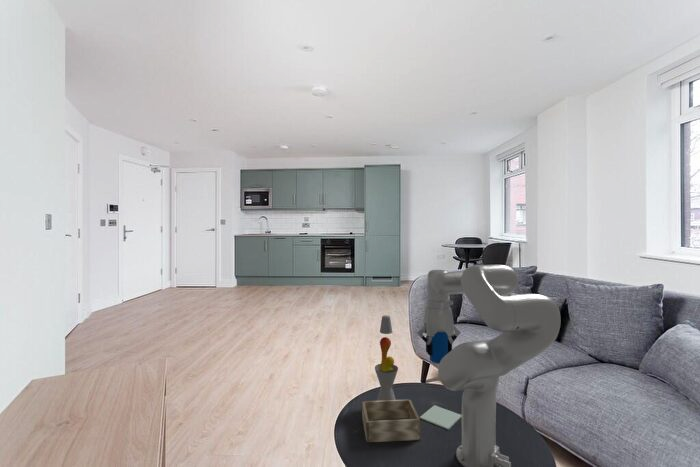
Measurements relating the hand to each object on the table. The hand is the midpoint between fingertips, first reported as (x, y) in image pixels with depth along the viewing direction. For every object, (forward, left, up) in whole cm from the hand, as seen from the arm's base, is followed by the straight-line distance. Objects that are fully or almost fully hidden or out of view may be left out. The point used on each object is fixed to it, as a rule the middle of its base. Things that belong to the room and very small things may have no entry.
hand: (438, 353), depth 125 cm
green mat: (0, -1, -23) cm, 23 cm away
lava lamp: (+19, +6, -24) cm, 31 cm away
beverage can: (0, 0, -3) cm, 3 cm away
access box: (+10, +17, -23) cm, 31 cm away
